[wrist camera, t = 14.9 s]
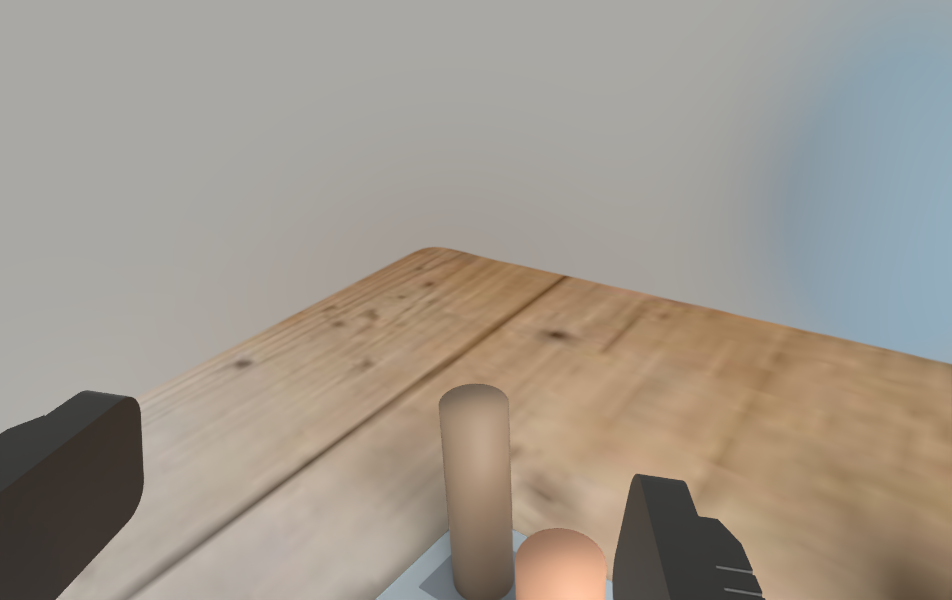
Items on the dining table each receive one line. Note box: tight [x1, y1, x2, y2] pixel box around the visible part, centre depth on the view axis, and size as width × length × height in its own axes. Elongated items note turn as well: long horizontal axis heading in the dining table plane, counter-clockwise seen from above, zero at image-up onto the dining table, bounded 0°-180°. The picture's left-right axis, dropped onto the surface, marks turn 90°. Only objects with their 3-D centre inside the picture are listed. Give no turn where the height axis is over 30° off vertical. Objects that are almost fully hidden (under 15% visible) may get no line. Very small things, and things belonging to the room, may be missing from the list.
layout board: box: [375, 384, 613, 600], centre depth 31 cm, size 18×14×13 cm
